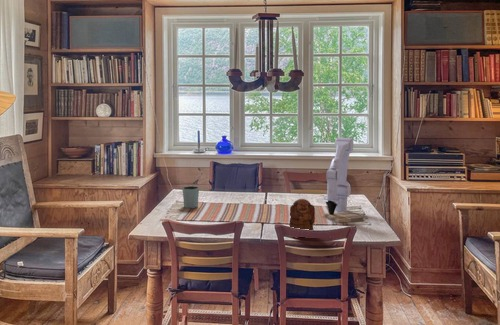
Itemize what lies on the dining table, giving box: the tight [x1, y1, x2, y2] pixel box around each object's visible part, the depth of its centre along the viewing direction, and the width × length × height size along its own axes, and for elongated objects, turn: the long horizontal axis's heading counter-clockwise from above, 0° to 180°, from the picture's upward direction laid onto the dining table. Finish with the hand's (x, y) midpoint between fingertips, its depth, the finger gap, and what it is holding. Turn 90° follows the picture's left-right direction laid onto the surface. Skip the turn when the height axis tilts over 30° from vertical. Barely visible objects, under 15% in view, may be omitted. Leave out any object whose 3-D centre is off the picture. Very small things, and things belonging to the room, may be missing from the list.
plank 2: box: [331, 215, 352, 224], centre depth 248 cm, size 7×8×2 cm
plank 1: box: [323, 212, 342, 219], centre depth 255 cm, size 7×8×2 cm
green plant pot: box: [181, 185, 200, 209], centre depth 277 cm, size 10×10×12 cm
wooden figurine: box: [288, 198, 316, 231], centre depth 220 cm, size 12×6×18 cm, turn 103°
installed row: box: [337, 210, 364, 222], centre depth 255 cm, size 15×8×2 cm, turn 22°
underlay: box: [321, 215, 365, 224], centre depth 253 cm, size 16×18×1 cm
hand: (331, 214), depth 254 cm, fingers closed, pressing on plank 1
